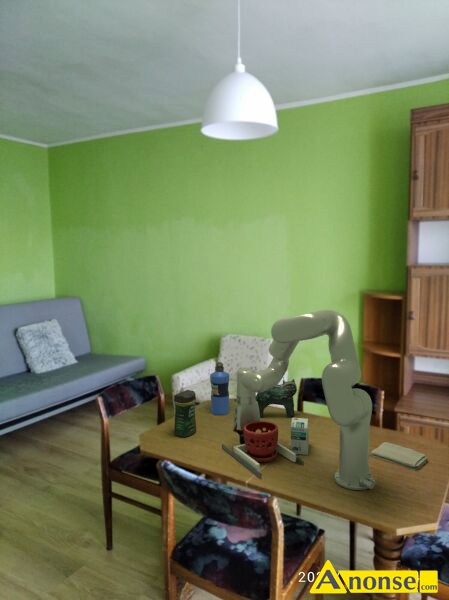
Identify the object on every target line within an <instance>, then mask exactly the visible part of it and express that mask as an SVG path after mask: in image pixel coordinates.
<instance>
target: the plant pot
mask: <svg viewBox="0 0 449 600" xmlns="http://www.w3.org/2000/svg"><path fill="white" fill-rule="evenodd" d="M278 426H279V425H277V424H275V423H274V422H271V421H265V420H264V421H262V420H260V421H257V422H251V423H248V424H246V425H245V426H244V440H245V444H246V447H247V449H248V450H247V452H246V454H247V455H248V456H249V457H251V458H252V459H253V460H255V461H256V462H257V463H259V462H260V463H261V462H262V463H266V462H270V461H272V460H274V459H275V458H276V457H277V455H278V452H277V451H276V450H275V449H276V447H277V443H279V442H278V441H279V427H278ZM264 429H265V430H264ZM251 430H253V432H251ZM258 430H259V431H260V432H257V431H258Z"/></svg>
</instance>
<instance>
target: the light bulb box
mask: <svg viewBox="0 0 449 600" xmlns="http://www.w3.org/2000/svg"><path fill="white" fill-rule="evenodd" d="M290 450H291V451H292V452H294V453H295V454H296V455H301V456H302V455H303V456H308V455H309V418H303V417H300V418H299V417H294V418H291V423H290Z"/></svg>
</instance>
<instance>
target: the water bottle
mask: <svg viewBox="0 0 449 600" xmlns="http://www.w3.org/2000/svg"><path fill="white" fill-rule="evenodd" d="M214 370H215V371H214V372H212V373H210V375H209V377H210V379H209V380H210V387H211V391H210V413H211V414H212V415H213V416H218V417H219V416H227V415H229V414H230V393H229V392H230V391H229V385H230V373H228V372H226V371H225V366H224V363H223V362H221V361H218V362H217V363H216V364H215V369H214Z"/></svg>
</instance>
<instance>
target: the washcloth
mask: <svg viewBox="0 0 449 600" xmlns="http://www.w3.org/2000/svg"><path fill="white" fill-rule="evenodd" d="M369 457H374V458H376V459H378V460H381V461H385V462H387V463H390V464H394V465H397V466H400V467H403V468H406V469H407V470H412V471H416V470H419V469H420V468H421V467H423V465H425V464H426V463H427V462H428V460H429V459H428V457H427V456H425V453H421V452H418V451H416V450H415V449H413V448H407V447H404V446H402V445H398V444H394V443H391V442H386V441H385V442H382V443H381V444H380V445H379V446H378V447H376V448H375V449H372V451H371V452H369ZM426 461H427V462H426Z"/></svg>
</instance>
